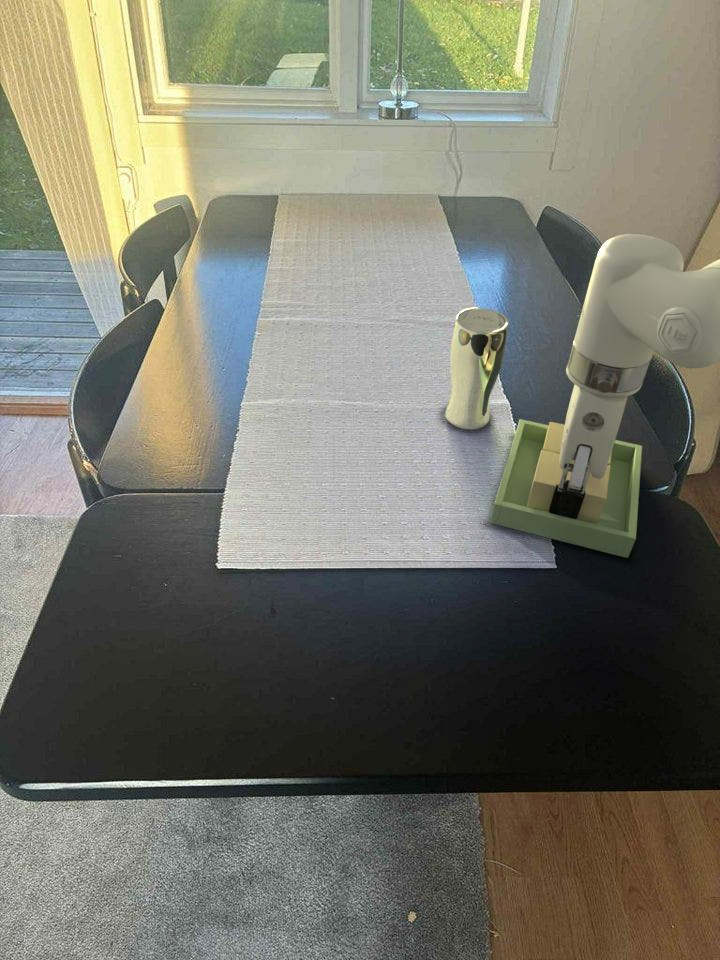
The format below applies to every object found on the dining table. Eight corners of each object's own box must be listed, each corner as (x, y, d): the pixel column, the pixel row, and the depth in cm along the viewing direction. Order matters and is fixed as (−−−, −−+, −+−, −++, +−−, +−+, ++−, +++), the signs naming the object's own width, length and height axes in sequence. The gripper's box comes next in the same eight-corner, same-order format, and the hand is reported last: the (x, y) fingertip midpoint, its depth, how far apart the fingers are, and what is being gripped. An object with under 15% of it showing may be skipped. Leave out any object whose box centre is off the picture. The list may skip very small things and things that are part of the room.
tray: (635, 464, 91) (642, 445, 89) (627, 558, 78) (636, 539, 76) (515, 437, 94) (519, 418, 92) (490, 523, 82) (494, 503, 80)
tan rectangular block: (601, 491, 83) (610, 465, 81) (597, 524, 79) (606, 498, 76) (534, 475, 85) (541, 449, 83) (526, 506, 81) (533, 480, 78)
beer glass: (502, 417, 98) (521, 320, 88) (472, 438, 94) (488, 339, 84) (462, 396, 101) (476, 301, 91) (431, 416, 97) (443, 319, 88)
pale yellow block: (605, 459, 90) (614, 435, 88) (601, 488, 86) (610, 463, 83) (543, 445, 92) (549, 421, 90) (536, 473, 88) (543, 448, 85)
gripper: (642, 420, 63) (591, 556, 75) (649, 331, 75) (604, 460, 87) (558, 402, 65) (522, 537, 77) (578, 318, 77) (544, 446, 89)
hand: (566, 495), depth 82 cm, fingers closed on tan rectangular block, 6 cm apart
